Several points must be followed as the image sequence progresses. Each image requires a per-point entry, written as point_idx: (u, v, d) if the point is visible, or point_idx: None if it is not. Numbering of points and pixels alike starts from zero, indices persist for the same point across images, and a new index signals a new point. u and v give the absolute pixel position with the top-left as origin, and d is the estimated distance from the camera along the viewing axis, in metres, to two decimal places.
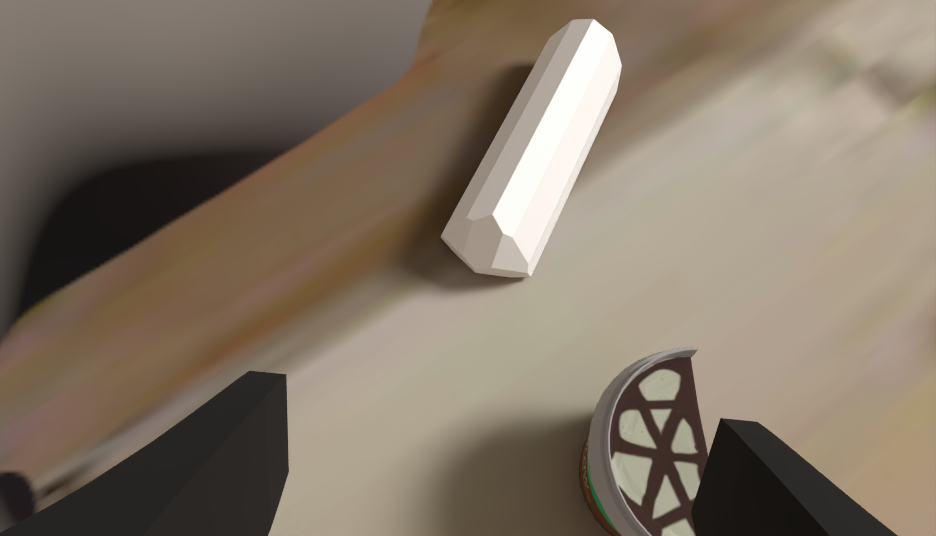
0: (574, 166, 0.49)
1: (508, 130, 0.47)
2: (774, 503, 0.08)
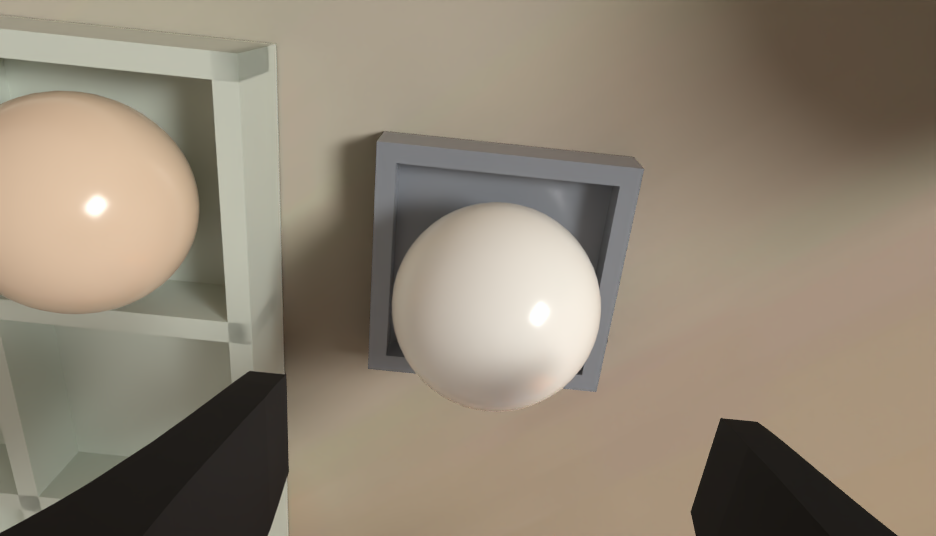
0: None
1: None
2: (774, 503, 0.08)
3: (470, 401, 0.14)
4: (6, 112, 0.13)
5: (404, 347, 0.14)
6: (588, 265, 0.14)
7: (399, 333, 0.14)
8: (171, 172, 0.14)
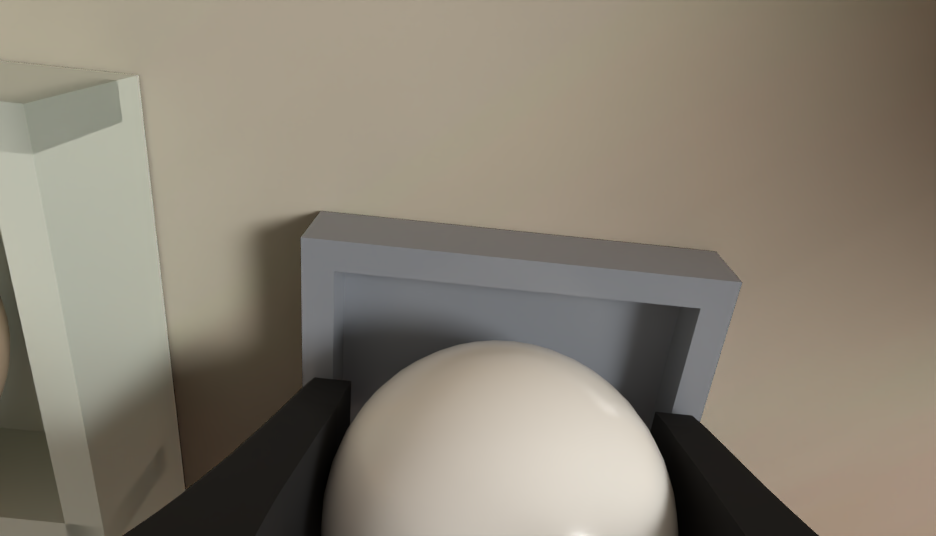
0: None
1: None
2: (695, 495, 0.08)
3: None
4: None
5: None
6: (659, 469, 0.08)
7: None
8: None
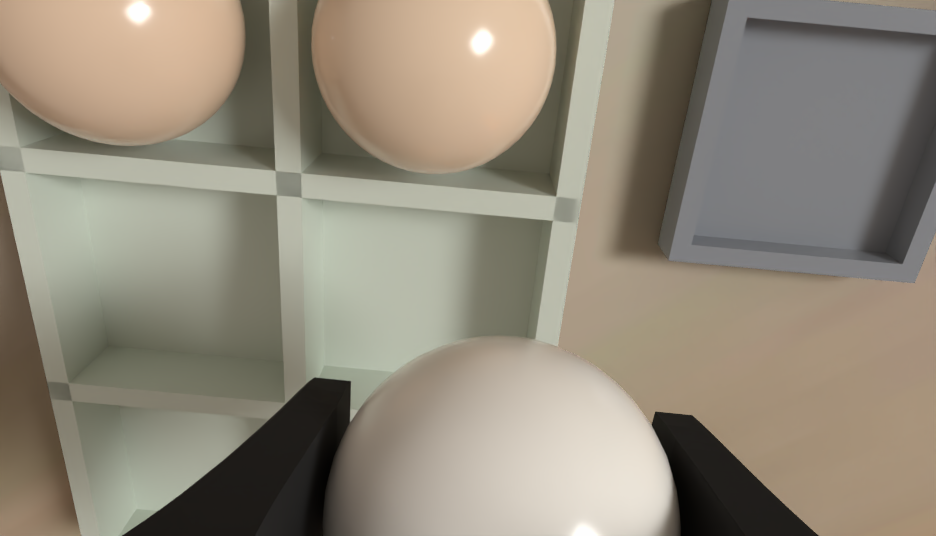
0: None
1: None
2: (695, 495, 0.08)
3: None
4: None
5: None
6: (662, 464, 0.08)
7: None
8: None
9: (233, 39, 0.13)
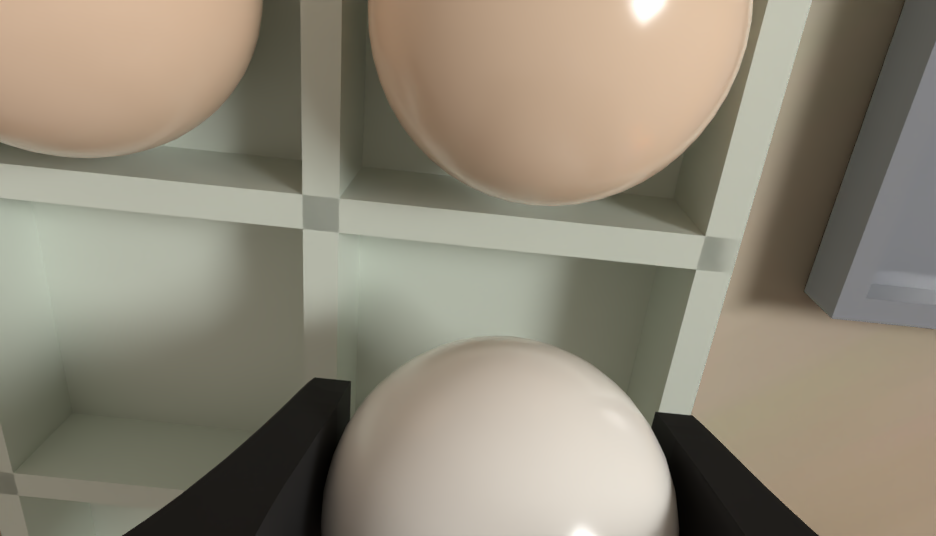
0: None
1: None
2: (695, 495, 0.08)
3: None
4: None
5: None
6: (661, 464, 0.08)
7: None
8: None
9: None
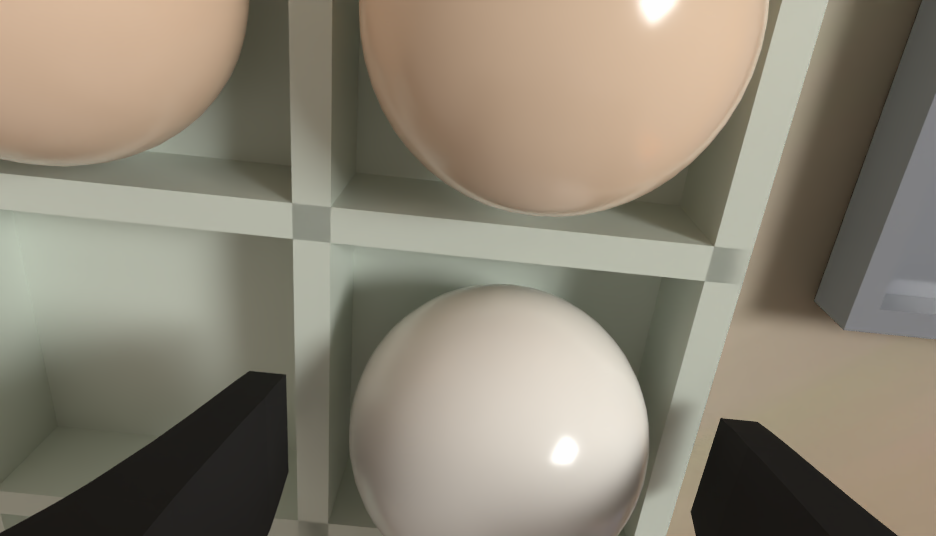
0: None
1: None
2: (774, 503, 0.08)
3: None
4: None
5: (364, 503, 0.10)
6: (633, 384, 0.10)
7: (357, 482, 0.10)
8: None
9: None
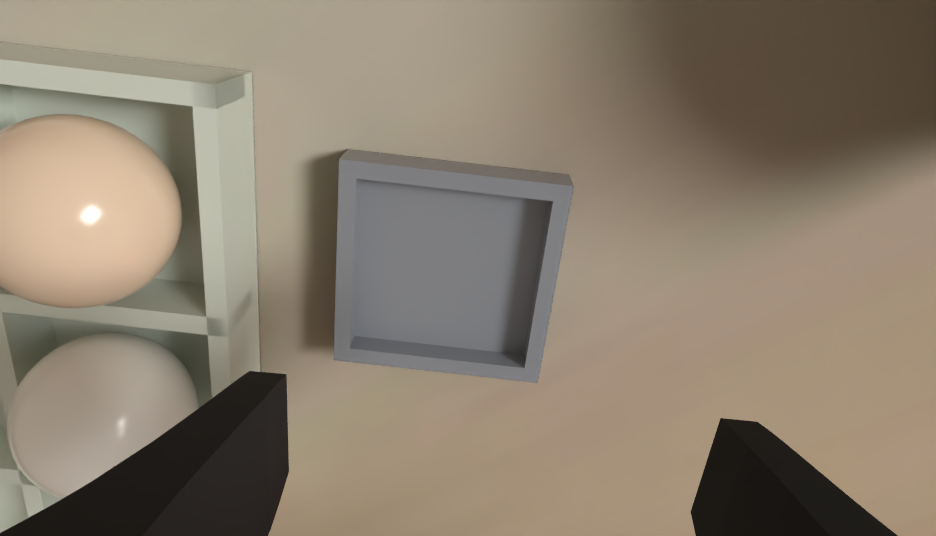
0: None
1: None
2: (774, 503, 0.08)
3: (61, 498, 0.18)
4: (14, 134, 0.15)
5: None
6: (161, 390, 0.18)
7: None
8: (156, 186, 0.16)
9: None
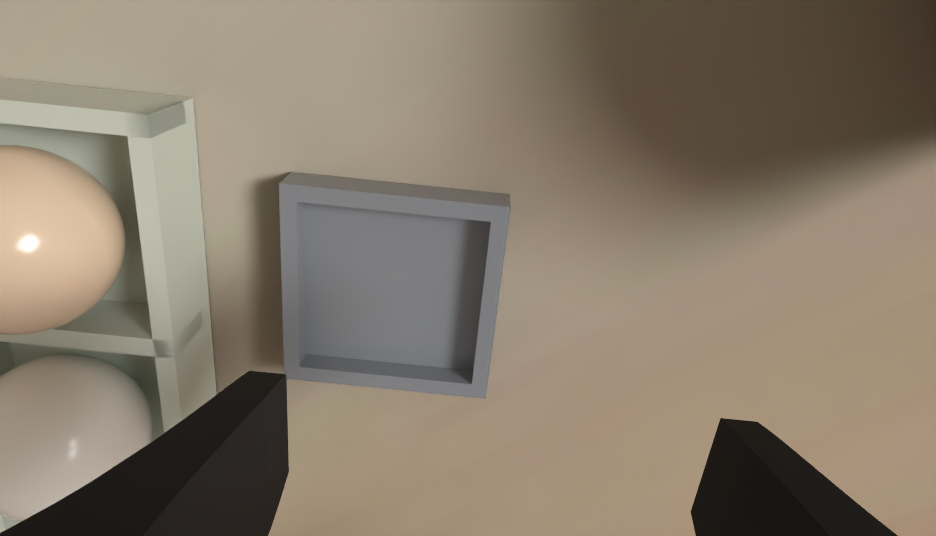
0: None
1: None
2: (774, 503, 0.08)
3: (13, 519, 0.18)
4: None
5: None
6: (111, 410, 0.19)
7: None
8: (93, 214, 0.16)
9: None
